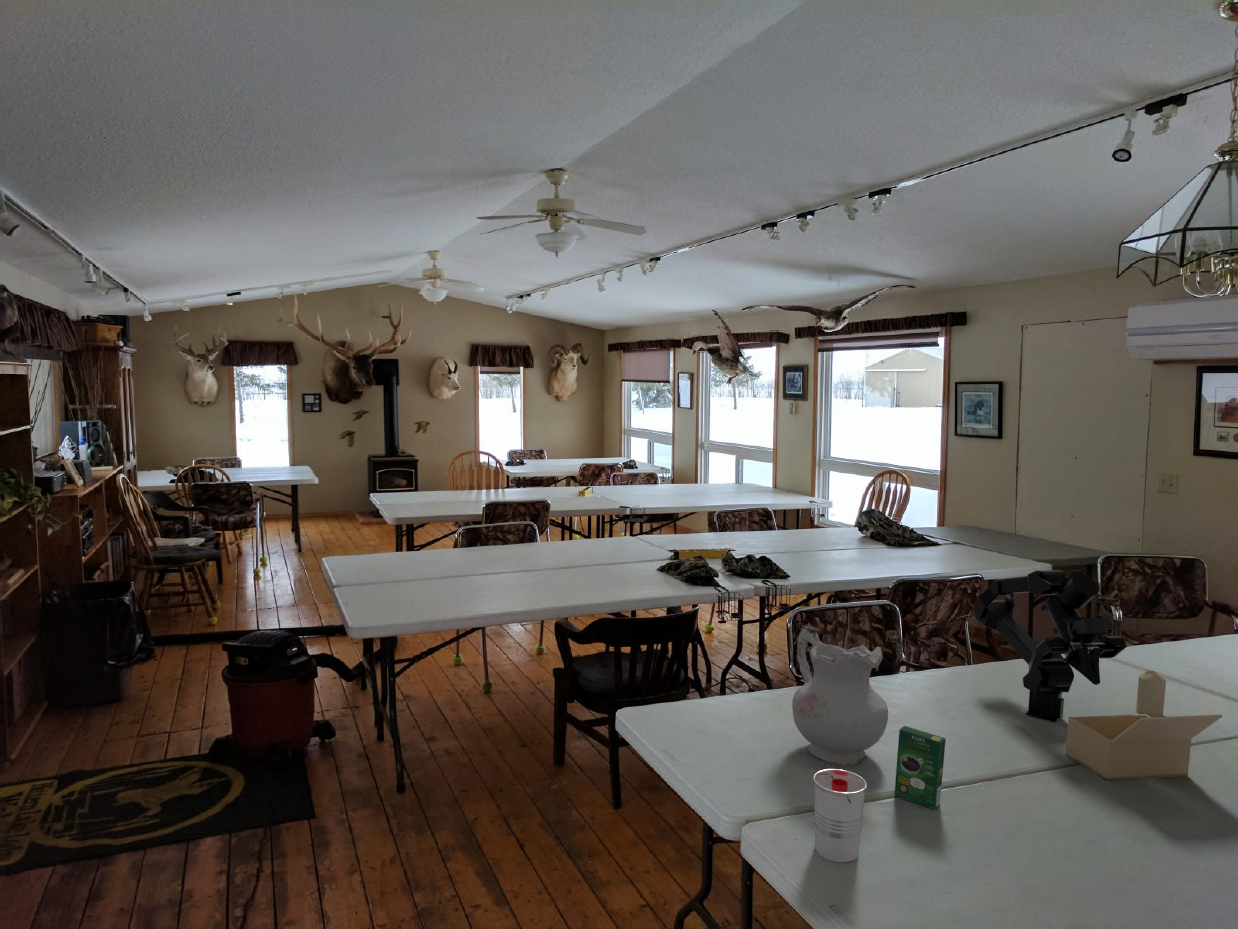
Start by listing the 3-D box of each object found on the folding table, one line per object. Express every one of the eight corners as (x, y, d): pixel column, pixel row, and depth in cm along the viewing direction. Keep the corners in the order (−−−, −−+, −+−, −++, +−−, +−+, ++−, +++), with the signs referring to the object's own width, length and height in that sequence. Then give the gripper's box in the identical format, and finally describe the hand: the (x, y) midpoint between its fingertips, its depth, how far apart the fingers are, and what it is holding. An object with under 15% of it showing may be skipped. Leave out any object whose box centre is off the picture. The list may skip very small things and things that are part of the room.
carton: (1065, 754, 178) (1068, 717, 178) (1142, 750, 181) (1145, 714, 180) (1106, 780, 167) (1109, 741, 166) (1187, 776, 169) (1191, 737, 168)
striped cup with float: (802, 835, 144) (805, 767, 142) (850, 834, 144) (854, 766, 143) (820, 869, 134) (824, 796, 133) (873, 867, 134) (876, 795, 133)
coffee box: (942, 806, 155) (946, 736, 154) (936, 811, 153) (941, 741, 151) (899, 791, 160) (903, 724, 159) (893, 796, 158) (897, 728, 157)
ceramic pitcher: (763, 752, 179) (764, 639, 175) (811, 719, 193) (812, 614, 189) (858, 787, 164) (861, 665, 160) (903, 749, 178) (906, 636, 174)
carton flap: (1140, 717, 159) (1141, 719, 158) (1221, 714, 161) (1222, 716, 161) (1111, 741, 166) (1112, 743, 166) (1189, 737, 168) (1190, 739, 168)
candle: (1167, 718, 199) (1170, 677, 198) (1141, 716, 200) (1144, 675, 199) (1157, 710, 205) (1160, 669, 204) (1132, 707, 206) (1135, 667, 205)
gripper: (1047, 601, 184) (1078, 668, 174) (1124, 600, 187) (1159, 665, 177) (1022, 626, 193) (1050, 691, 183) (1096, 625, 195) (1128, 689, 186)
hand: (1097, 684), depth 182 cm, fingers closed
